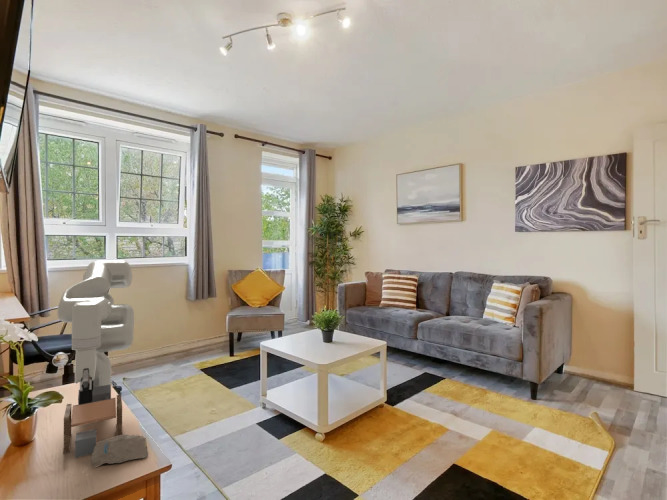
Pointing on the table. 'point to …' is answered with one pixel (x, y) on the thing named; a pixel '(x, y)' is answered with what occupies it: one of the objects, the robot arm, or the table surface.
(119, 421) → the frame
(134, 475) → the table surface
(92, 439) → the slate block
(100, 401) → the trapdoor
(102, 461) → the concrete fragment
